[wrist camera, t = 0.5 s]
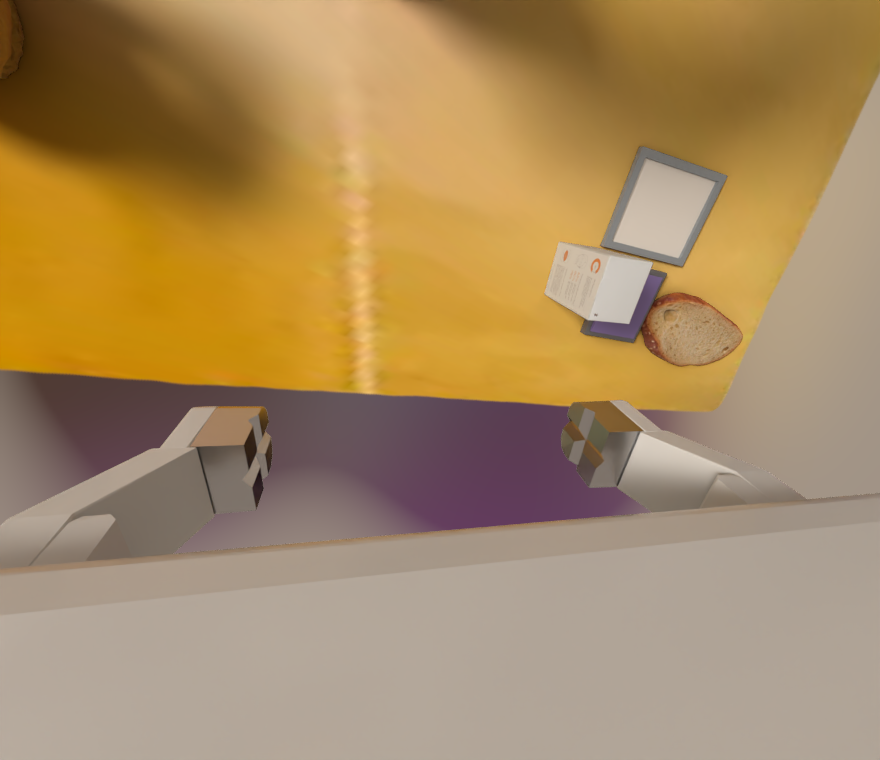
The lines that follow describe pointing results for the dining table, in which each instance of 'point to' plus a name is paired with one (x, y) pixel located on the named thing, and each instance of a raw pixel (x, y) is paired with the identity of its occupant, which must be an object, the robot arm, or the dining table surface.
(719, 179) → the print frame
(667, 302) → the bread slice
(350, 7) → the dining table surface
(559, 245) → the small box
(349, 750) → the robot arm
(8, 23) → the pitcher
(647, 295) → the ink pad
